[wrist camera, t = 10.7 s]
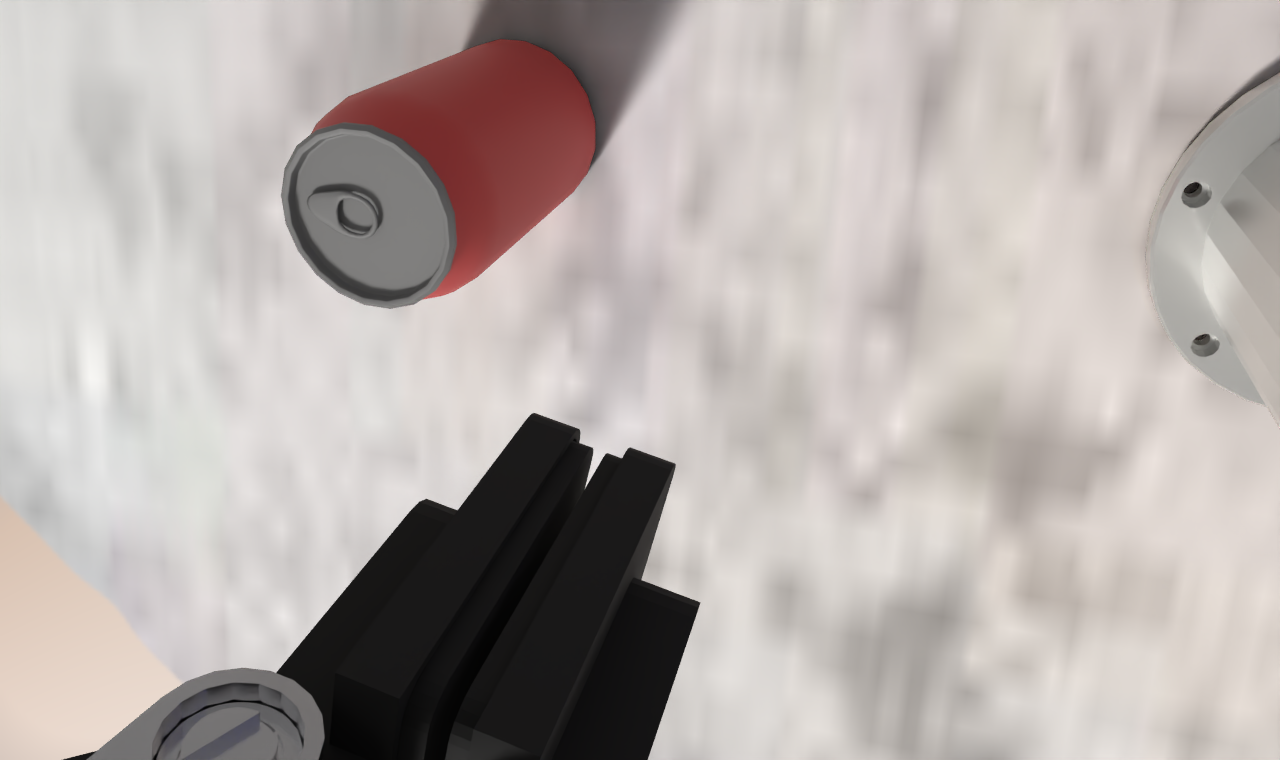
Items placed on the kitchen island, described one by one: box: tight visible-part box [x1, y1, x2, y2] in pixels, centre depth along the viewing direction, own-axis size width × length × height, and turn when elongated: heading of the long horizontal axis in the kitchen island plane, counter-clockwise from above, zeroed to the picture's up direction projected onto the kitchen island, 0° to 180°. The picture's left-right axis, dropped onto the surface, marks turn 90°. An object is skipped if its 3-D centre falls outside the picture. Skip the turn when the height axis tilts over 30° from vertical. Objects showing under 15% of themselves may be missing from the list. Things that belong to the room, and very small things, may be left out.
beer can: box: [281, 39, 595, 309], centre depth 33 cm, size 7×7×12 cm
